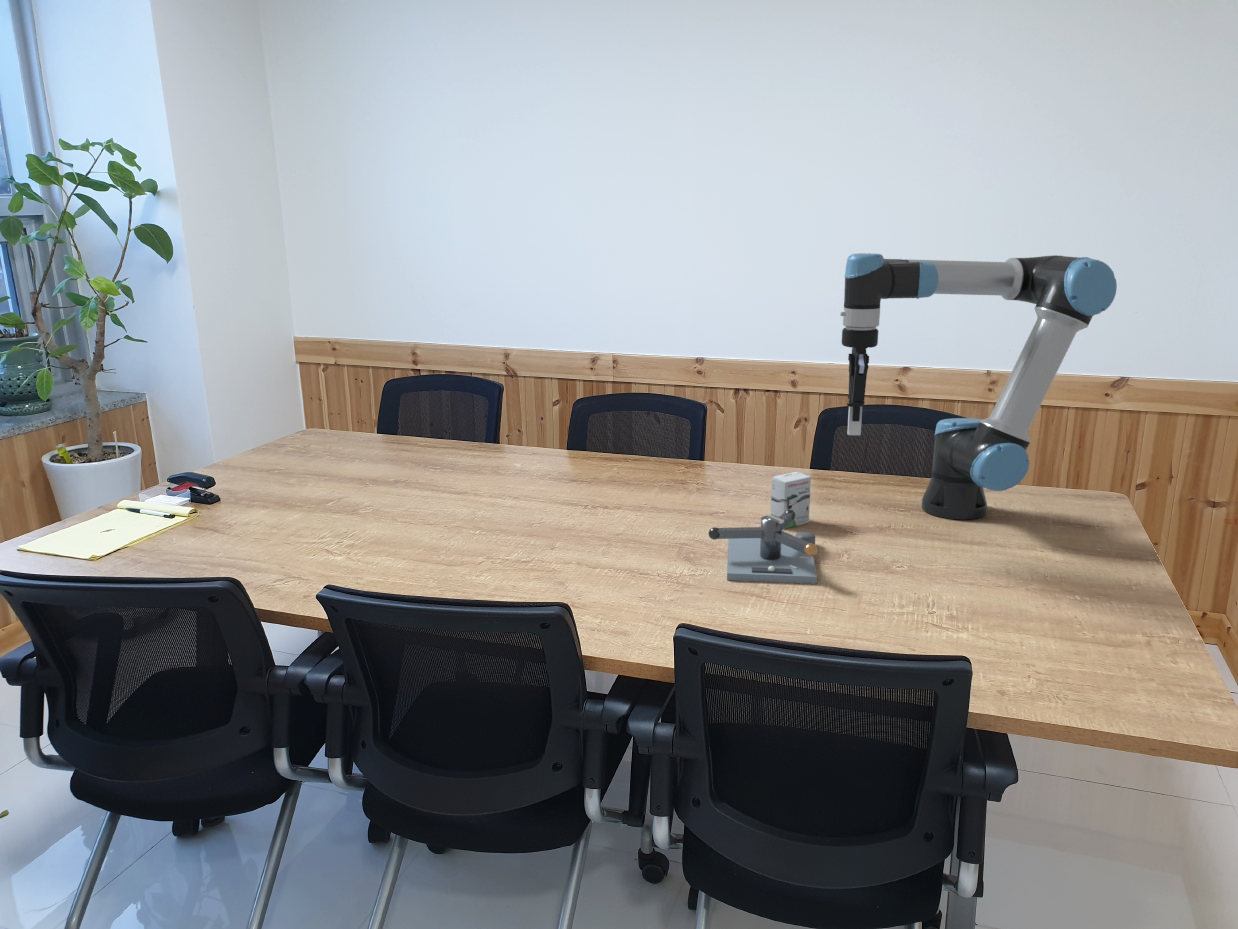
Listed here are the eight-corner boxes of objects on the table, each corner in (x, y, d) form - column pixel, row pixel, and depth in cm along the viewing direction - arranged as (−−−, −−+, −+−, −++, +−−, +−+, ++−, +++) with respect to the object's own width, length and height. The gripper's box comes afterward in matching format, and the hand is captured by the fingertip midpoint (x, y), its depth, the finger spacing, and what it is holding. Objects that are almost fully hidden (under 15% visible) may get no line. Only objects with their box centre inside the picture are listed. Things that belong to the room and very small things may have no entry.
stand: (814, 542, 205) (814, 531, 204) (822, 583, 183) (823, 572, 182) (728, 539, 208) (728, 528, 207) (726, 580, 186) (727, 568, 185)
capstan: (855, 564, 188) (858, 523, 186) (768, 589, 177) (770, 546, 174) (789, 534, 205) (790, 497, 203) (705, 556, 194) (706, 516, 191)
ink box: (783, 529, 213) (785, 481, 210) (769, 524, 217) (770, 476, 214) (810, 522, 218) (812, 475, 215) (795, 517, 222) (797, 470, 219)
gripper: (839, 323, 201) (833, 427, 208) (845, 331, 189) (839, 441, 195) (874, 323, 200) (867, 427, 207) (882, 331, 188) (875, 442, 194)
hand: (853, 434), depth 201 cm, fingers closed
